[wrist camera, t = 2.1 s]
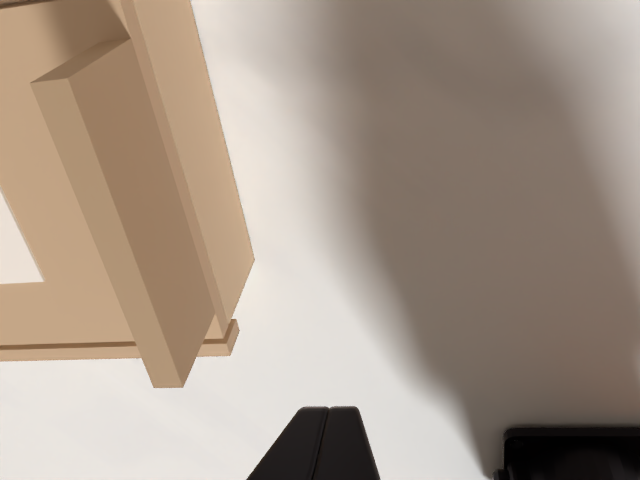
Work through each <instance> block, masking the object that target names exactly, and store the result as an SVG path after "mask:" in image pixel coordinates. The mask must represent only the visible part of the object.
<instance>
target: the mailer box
mask: <svg viewBox="0 0 640 480" xmlns="http://www.w3.org/2000/svg"><path fill="white" fill-rule="evenodd" d="M32 1H38V0H0V6H6V5H12V4H19V3H25V2H32ZM132 2H133V6H134V9H135V13H136V16H137V19H138V23H139V26H140V29H141V33H142V36H143V39H144V43H145V46H146V50H147V53H148V56H149V60H150V63H151V66H152V70H153V73H154V77H155V80H156V83H157V87H158V90H159V93H160V97H161V100H162V103H163V107H164V110H165V114H166V117H167V120H168V124H169V127H170V130H171V134H172V137H173V140H174V144H175V147H176V151H177V154H178V157H179V161H180V164H181V167H182V171H183V174H184V178H185V181H186V184H187V188H188V191H189V194H190V198H191V201H192V204H193V208H194V211H195V215H196V218H197V221H198V225H199V228H200V231H201V235H202V238H203V241H204V245H205V248H206V252H207V255H208V258H209V262H210V265H211V268H212V272H213V275H214V278H215V282H216V285H217V289H218V292H219V295H220V299H221V302H222V305H223V309H224V312H225V316H226V319H227V322H228V324H229V323H230V321H231V318H232V316H233V313H234V311H235V308H236V306H237V303H238V301H239V298H240V296H241V293H242V291H243V288H244V285H245V283H246V280H247V278H248V275H249V273H250V270H251V268H252V265H253V263H254V260H255V259H254V255H253V251H252V247H251V243H250V239H249V235H248V231H247V227H246V223H245V219H244V215H243V211H242V207H241V203H240V199H239V195H238V191H237V187H236V183H235V179H234V175H233V171H232V167H231V163H230V159H229V155H228V151H227V147H226V143H225V139H224V135H223V131H222V127H221V123H220V119H219V115H218V111H217V107H216V103H215V99H214V95H213V91H212V87H211V83H210V79H209V75H208V71H207V67H206V63H205V59H204V55H203V51H202V47H201V43H200V39H199V35H198V31H197V27H196V23H195V19H194V15H193V11H192V7H191V3H190V0H132Z"/></svg>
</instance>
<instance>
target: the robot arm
mask: <svg viewBox="0 0 640 480" xmlns="http://www.w3.org/2000/svg"><path fill="white" fill-rule="evenodd" d="M514 440H516V441H514ZM246 480H380V476H379V473H378V470H377V467H376V463H375V460H374V457H373V454H372V450H371V447H370V444H369V441H368V437H367V434H366V431H365V428H364V424H363V421H362V418H361V415H360V412H359V409H358V408H357V407H354V406H334V407H331V408H328V407H303V408H301V409H299V410H298V412H297V413H296V414H295V416H294V417H293V418H292V420H291V421H290V422H289V424H288V425H287V426H286V428H285V429H284V430H283V432H282V433H281V434H280V436H279V437H278V438H277V440H276V441H275V442H274V444H273V445H272V446H271V448H270V449H269V450H268V452H267V453H266V454H265V456H264V457H263V458H262V460H261V461H260V462H259V464H258V465H257V466H256V468H255V469H254V470H253V471H252V473H251V474H250V475H249V477H248V478H247V479H246ZM493 480H640V428H513V429H509V430H507V431H506V432H505V433H504V434H503V469H497V470H496V471H495V472H494V473H493Z"/></svg>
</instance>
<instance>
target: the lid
mask: <svg viewBox="0 0 640 480" xmlns="http://www.w3.org/2000/svg"><path fill="white" fill-rule="evenodd" d="M239 331H240V330H239V327H238V323H237V320H236V319H231V321H230V323H229V324H228V322H227V319H226V316H225V312H224V309H223V305H222V302H221V299H220V295H219V292H218V289H217V285H216V282H215V278H214V275H213V272H212V268H211V265H210V262H209V258H208V255H207V252H206V248H205V245H204V241H203V238H202V235H201V231H200V228H199V225H198V221H197V218H196V215H195V211H194V208H193V204H192V201H191V198H190V194H189V191H188V188H187V184H186V181H185V178H184V174H183V171H182V167H181V164H180V161H179V157H178V154H177V151H176V147H175V144H174V140H173V137H172V134H171V130H170V127H169V124H168V120H167V117H166V114H165V110H164V107H163V103H162V100H161V97H160V93H159V90H158V87H157V83H156V80H155V77H154V73H153V70H152V66H151V63H150V60H149V56H148V53H147V50H146V46H145V43H144V39H143V36H142V33H141V29H140V26H139V23H138V19H137V16H136V13H135V9H134V6H133V2H132V0H38V1H32V2H25V3H19V4H12V5H6V6H0V361H37V360H79V359H120V358H142V360H143V362H144V365H145V367H146V370H147V372H148V375H149V377H150V380H151V382H152V385H153V387H154V388H183V386H184V384H185V382H186V380H187V377H188V375H189V373H190V370H191V368H192V366H193V364H194V361H195V359H196V357H204V356H230V355H231V353H232V350H233V347H234V344H235V342H236V339H237V336H238V334H239Z"/></svg>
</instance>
